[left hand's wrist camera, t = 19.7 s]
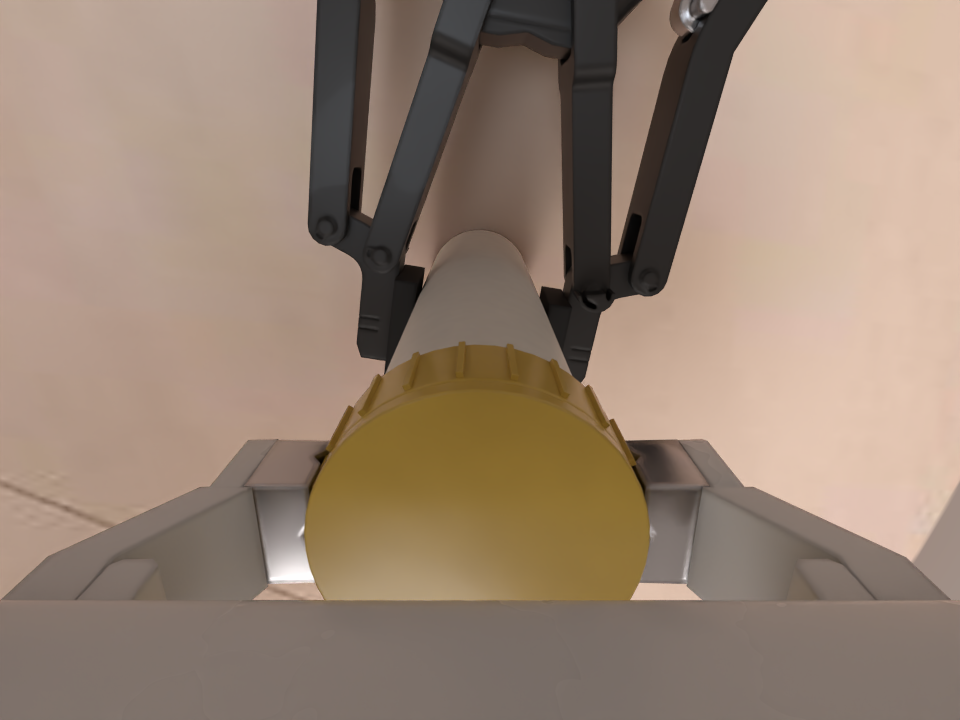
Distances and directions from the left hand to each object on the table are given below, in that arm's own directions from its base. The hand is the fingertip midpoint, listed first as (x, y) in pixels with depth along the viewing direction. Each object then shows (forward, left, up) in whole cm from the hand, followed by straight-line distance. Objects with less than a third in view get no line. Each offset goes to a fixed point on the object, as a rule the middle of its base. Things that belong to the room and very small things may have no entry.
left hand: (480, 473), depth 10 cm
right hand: (-5, +2, -11) cm, 12 cm away
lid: (0, 0, +2) cm, 2 cm away
